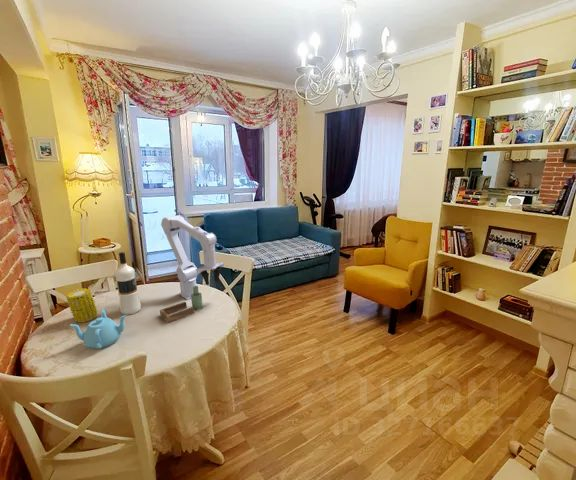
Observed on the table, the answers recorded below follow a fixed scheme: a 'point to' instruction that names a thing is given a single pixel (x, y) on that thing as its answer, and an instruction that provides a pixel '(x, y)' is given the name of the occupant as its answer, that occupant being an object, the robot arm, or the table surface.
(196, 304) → the green bottle
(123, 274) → the vodka
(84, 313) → the food
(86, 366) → the table surface
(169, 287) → the table surface
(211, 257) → the robot arm
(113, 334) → the teapot
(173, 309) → the u rest
